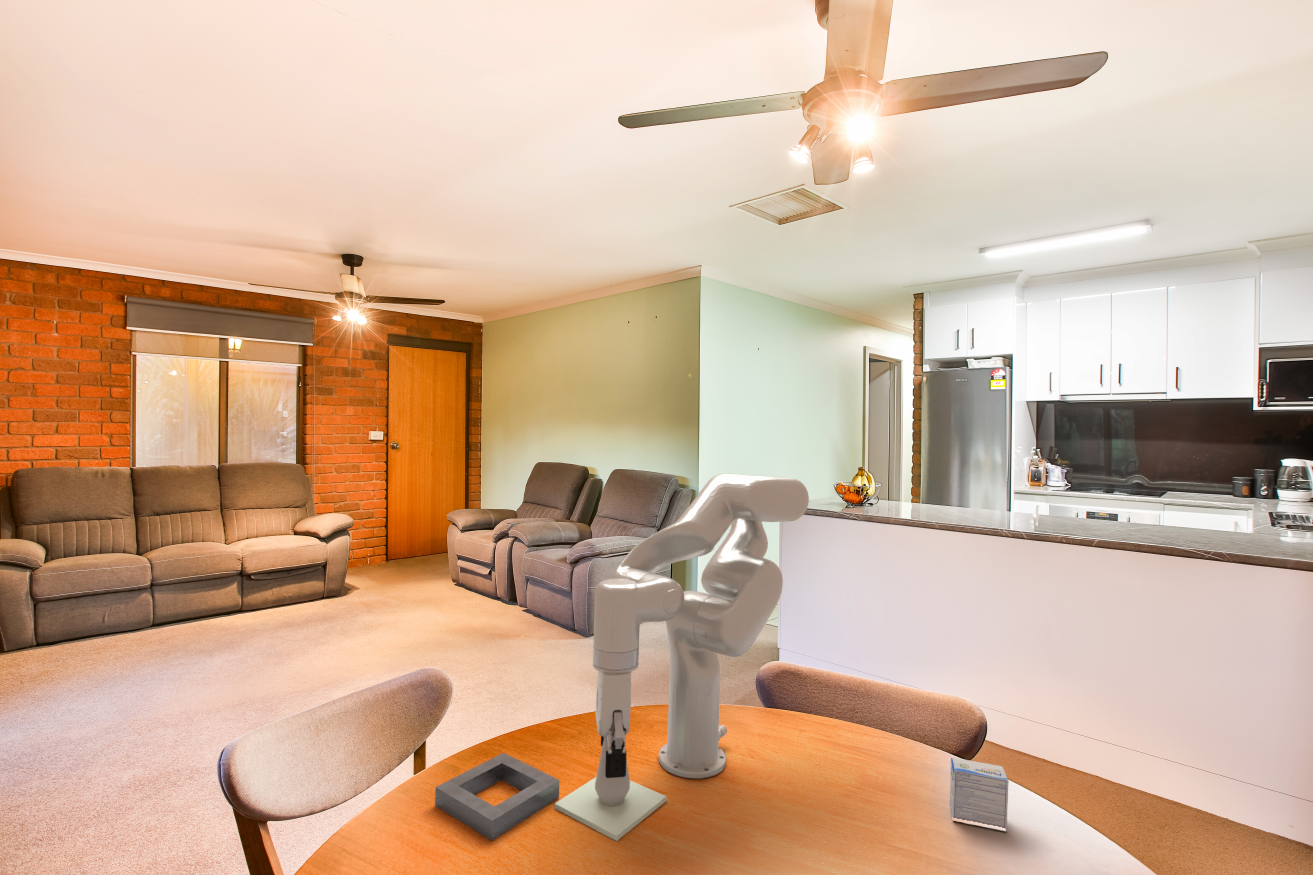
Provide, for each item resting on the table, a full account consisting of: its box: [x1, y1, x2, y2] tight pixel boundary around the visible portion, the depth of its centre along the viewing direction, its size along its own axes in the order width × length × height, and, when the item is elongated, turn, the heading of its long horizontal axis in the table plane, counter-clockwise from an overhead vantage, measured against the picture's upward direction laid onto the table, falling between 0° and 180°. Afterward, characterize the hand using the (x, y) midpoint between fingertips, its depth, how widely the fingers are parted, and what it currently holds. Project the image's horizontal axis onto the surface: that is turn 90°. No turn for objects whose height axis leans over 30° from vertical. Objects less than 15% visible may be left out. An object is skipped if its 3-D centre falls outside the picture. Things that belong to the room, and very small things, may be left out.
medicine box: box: [949, 757, 1010, 830], centre depth 101 cm, size 8×4×9 cm, turn 71°
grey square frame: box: [434, 752, 560, 841], centre depth 102 cm, size 14×14×3 cm
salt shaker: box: [595, 728, 631, 807], centre depth 102 cm, size 6×6×13 cm
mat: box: [554, 776, 667, 842], centre depth 102 cm, size 13×13×1 cm
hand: (612, 760), depth 102 cm, fingers open, 9 cm apart
